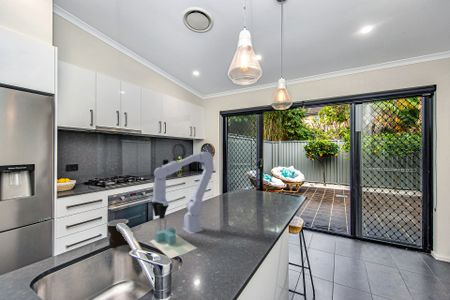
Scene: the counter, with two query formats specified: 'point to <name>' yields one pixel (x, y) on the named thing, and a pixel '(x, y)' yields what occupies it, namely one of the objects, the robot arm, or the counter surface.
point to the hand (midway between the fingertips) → (159, 217)
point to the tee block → (166, 236)
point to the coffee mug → (116, 233)
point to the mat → (174, 247)
